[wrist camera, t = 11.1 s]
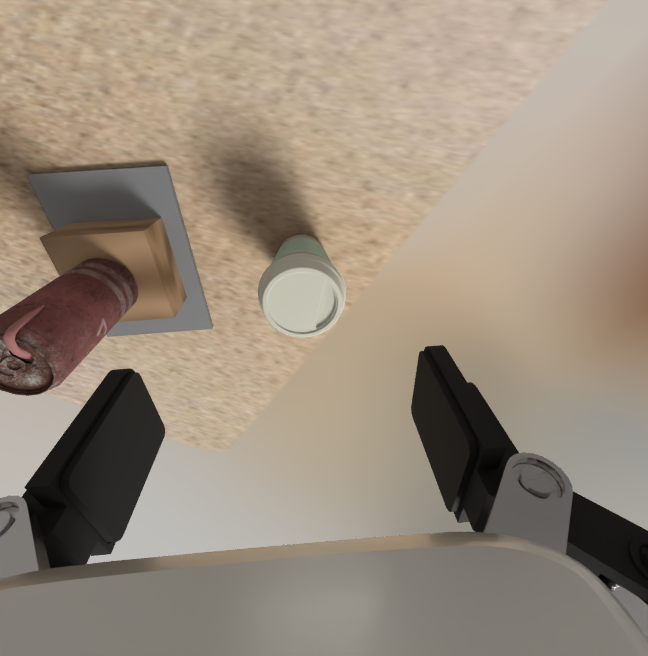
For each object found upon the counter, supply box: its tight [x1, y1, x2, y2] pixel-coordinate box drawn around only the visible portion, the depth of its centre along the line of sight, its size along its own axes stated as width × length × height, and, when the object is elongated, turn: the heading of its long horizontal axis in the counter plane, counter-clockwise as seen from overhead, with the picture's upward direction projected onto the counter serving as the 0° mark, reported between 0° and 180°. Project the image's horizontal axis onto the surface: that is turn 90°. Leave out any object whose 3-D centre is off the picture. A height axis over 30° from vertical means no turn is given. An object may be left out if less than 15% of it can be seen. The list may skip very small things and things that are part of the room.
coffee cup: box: [258, 234, 346, 337], centre depth 35 cm, size 9×9×12 cm
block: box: [40, 217, 187, 322], centre depth 37 cm, size 10×10×5 cm
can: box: [0, 258, 138, 396], centre depth 29 cm, size 6×6×14 cm
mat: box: [26, 165, 213, 337], centre depth 39 cm, size 20×14×1 cm
